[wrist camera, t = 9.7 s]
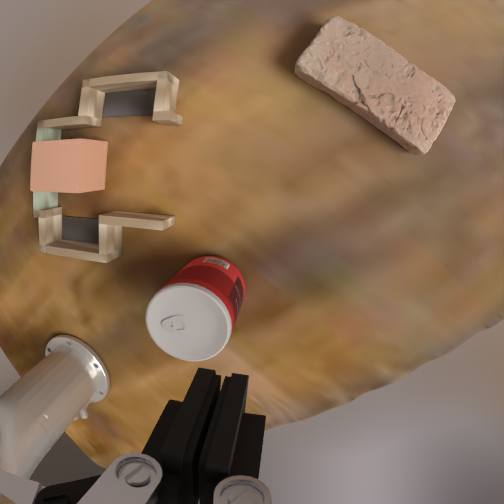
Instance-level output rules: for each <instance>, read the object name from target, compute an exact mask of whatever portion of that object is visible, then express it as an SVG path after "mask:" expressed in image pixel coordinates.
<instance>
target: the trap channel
mask: <svg viewBox="0 0 504 504" xmlns="http://www.w3.org/2000/svg"><path fill="white" fill-rule="evenodd" d="M178 87H179V80H178V79H177V78H175V77H174V76H173V75H172V74H170V73H169V72H168V71H161V72H146V73H134V74H124V75H115V76H107V77H100V78H93V79H86V80H83V84H82V90H81V97H80V104H79V112H78V116H73V117H65V118H56V119H49V120H42V121H38V124H37V133H36V142H40V141H52V140H61V131H62V130H67V129H78V128H92V127H101V124H102V115H103V117H116V116H137V115H153V119H152V120H153V121H155V122H158V123H161V124H164V125H182V122H183V117H182V116H180V115H178V114H176V113H175V111H176V103H177V94H178ZM105 93H106V95H105ZM104 99H105V103H104ZM103 107H104V110H103ZM33 217H34V218H39V242H40V252H42V253H48V254H54V255H60V256H66V257H72V258H78V259H84V260H90V261H96V262H102V263H108V262H110V261H112V260H113V259H115V258H117V257H119V256H121V255H122V226H124V227H134V228H143V229H153V230H164V229H166V228H168V227H170V226H173V225H175V216H170V215H159V214H148V213H136V212H125V211H113V212H109V213H105V214H101V215H99V219H92V218H81V217H70V216H62V207H59V206H58V192H40V191H33ZM62 235H63V239H62Z"/></svg>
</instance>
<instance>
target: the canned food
mask: <svg viewBox="0 0 504 504" xmlns="http://www.w3.org/2000/svg"><path fill="white" fill-rule="evenodd" d="M244 295H245V283H244V279H243V277H242V275H241V273H240V271H239V270H238V269H237V268H236V266H235V265H233V264H232V263H231V262H229V261H228V260H226V259H224V258H221V257H216V256H203V257H199V258H196V259H194V260H192V261H191V262H190V263H188V264H187V265H186V266H185V267H184V268H183V269H181V270H180V271H179V272H178V273H177V274H176V275H175V276H174V277H173V278H172V279H171V280H169V281H168V282H167V283H166V284H165V285H164V286H163V287H162V288H161V289H160V290H159V291H158V292H157V293H156V294H155V295H154V296H153V298H152V299H151V301H150V303H149V305H148V307H147V311H146V325H147V329H148V331H149V334H150V336H151V337H152V339H153V341H154V342H155V343H156V344H157V345H158V346H159V347H160V348H161V349H162V350H163V351H164V352H166V353H168V354H169V355H171V356H173V357H175V358H178V359H181V360H186V361H202V360H206V359H209V358H212V357H213V356H215V355H217V354H218V353H219V352H220V351H221V350H222V349H223V348H224V347H225V345H226V343H227V342H228V340H229V338H230V335H231V333H232V330H233V327H234V325H235V322H236V319H237V316H238V313H239V310H240V307H241V304H242V301H243V298H244Z"/></svg>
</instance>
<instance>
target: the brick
mask: <svg viewBox="0 0 504 504" xmlns="http://www.w3.org/2000/svg"><path fill="white" fill-rule="evenodd" d="M294 73H295V74H296V75H297V76H298V77H299V78H300V79H302V80H304V81H305V82H306V83H308V84H310V85H312V86H313V87H315V88H317V89H319V90H321V91H324V92H326V93H328V94H329V95H330V96H332V97H333V98H334V99H335V100H336V101H338V102H339V103H341V104H343V105H346V106H348V107H349V108H350V109H351V110H352V111H353V112H355V113H356V114H358V115H360V116H361V117H362V118H364V119H365V120H367V121H369V122H370V123H371V124H372V125H374V126H375V127H376V128H378V129H379V130H381V131H382V132H383V133H385V134H386V135H388V136H389V137H390V138H392V139H393V140H395V141H396V142H398V143H399V144H400V145H401V146H403V147H404V149H406V150H408V151H409V152H410V153H412V154H415V155H418V154H419V155H422V154H425V153H427V152H428V151H429V149H430V147H431V146H432V143H433V142H434V141H435V140H436V138H437V136H438V135H439V133H440V132H441V130H442V128H443V126H444V124H445V122H446V120H447V118H448V116H449V114H450V111H451V110H452V108H453V104H454V103H455V97H454V96H453V95H452V94H451V93H450V91H449V90H448V89H447V88H446V87H445V86H443V85H442V84H441V83H439V82H438V81H437V80H435V79H434V78H432V77H431V76H429V75H428V74H426V73H425V72H423V71H421V70H420V69H419V68H418V67H416V66H415V65H413V64H410V63H409V62H408V61H407V60H406V59H405V58H404V57H402V56H401V55H400V54H399V53H397V52H396V51H395V50H393V49H392V48H391V47H389V46H388V45H386V44H385V43H383V42H382V41H380V40H379V39H378V38H376V37H374V36H373V35H371V34H370V33H369V32H367V31H365V30H364V29H361V28H359V27H358V26H357V25H355V24H353V23H352V22H349V21H346V20H345V19H343V18H342V17H338V16H333V17H331V18H330V19H328V20H327V21H326V22H325V23H324V25H323V27H322V28H321V29H320V31H319V32H318V33H317V34H316V37H315V38H314V39H313V40H312V41H311V43H310V45H309V46H308V47H307V48H306V49H305V50H304V51H303V53H302V54H301V55H300V56H299V58H298V60H297V61H296V64H295V70H294Z"/></svg>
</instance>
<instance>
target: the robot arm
mask: <svg viewBox="0 0 504 504" xmlns="http://www.w3.org/2000/svg"><path fill="white" fill-rule="evenodd" d="M45 356H46V357H45V358H44V359H42V360H41V361H40V362H39V363H38V364H37V365H35V366H34V367H33V368H32V369H31V370H29V371H28V372H27V373H26V374H25V375H24V376H22V377H21V378H20V379H19V380H18V381H17V382H16V383H14V384H13V385H12V386H11V387H10V388H9V389H8V390H6V391H5V392H4V393H3V394H2V395H1V396H0V504H198V501H199V498H200V504H272V500H271V494H270V491H269V489H268V487H267V486H266V485H265V484H264V483H263V482H261V481H260V480H258V477H259V468H260V460H261V453H262V444H263V437H264V428H265V419H266V416H264V415H256V414H249V413H245V405H246V396H247V387H248V378H249V375H242V374H235V373H232V376H231V377H227V376H225V379H224V382H223V385H222V388H221V391H220V386H221V375H216V372H215V370H210V369H204V368H198V370H197V372H196V374H195V377H194V379H193V381H192V383H191V385H190V387H189V390H188V392H187V394H186V396H185V398H184V401H183V402H180V401H176V400H169V401H168V403H167V405H166V407H165V409H164V411H163V412H162V414H161V416H160V418H159V420H158V422H157V424H156V426H155V428H154V430H153V432H152V434H151V436H150V438H149V440H148V442H147V443H146V445H145V447H144V449H143V451H142V453H129V454H124V455H122V456H120V457H118V458H117V459H116V460H114V461H113V462H112V464H111V465H110V466H109V467H108V468H107V470H106V471H105V472H104V473H103V474H102V475H98V476H94V477H90V478H85V479H81V480H77V481H72V482H67V483H62V484H57V485H51V486H48V487H43V486H41V484H40V483H38V482H35V481H32V480H29V477H30V476H31V474H32V473H33V471H34V470H35V468H36V466H37V465H38V464H39V462H40V461H41V460H42V458H43V457H44V456H45V455H46V453H47V452H48V451H49V449H50V448H51V447H52V446H53V445H54V443H55V442H56V441H57V439H58V438H59V437H60V436H61V435H62V433H63V432H64V431H65V430H66V428H67V427H68V426H69V425H70V423H71V422H72V421H73V420H76V419H78V418H79V412H80V415H81V418H83V419H86V418H88V413H87V410H86V408H87V406H88V405H89V404H90V403H94V402H99V401H100V400H102V399H103V398H104V397H105V396H106V394H107V393H108V391H109V388H110V381H109V375H108V373H107V370H106V368H105V366H104V364H103V362H102V361H101V359H100V358H99V356H98V355H97V354H96V353H95V352H94V351H93V350H92V349H91V348H90V347H89V346H88V345H87V344H85V343H84V342H83V341H81V340H79V339H77V338H76V337H73V336H70V335H58V336H55V337H54V338H53V339H51V340H50V341H49V342H48V344H47V346H46V351H45Z"/></svg>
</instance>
